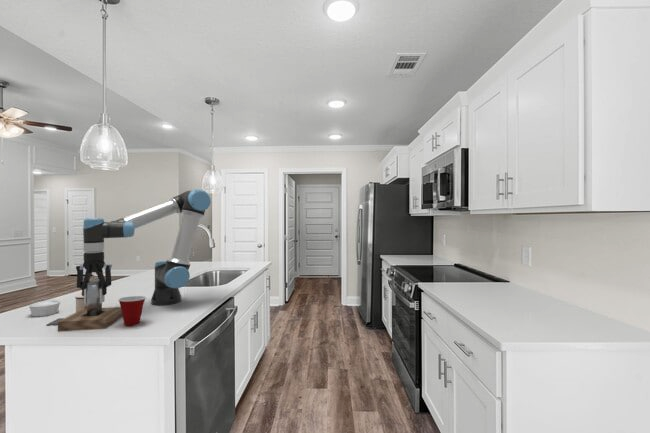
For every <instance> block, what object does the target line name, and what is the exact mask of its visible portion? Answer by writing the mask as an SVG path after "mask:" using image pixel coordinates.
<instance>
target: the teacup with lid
mask: <svg viewBox="0 0 650 433" xmlns="http://www.w3.org/2000/svg"><path fill="white" fill-rule="evenodd" d="M74 298H75V313H76V312H78V311H80V310H81V309H87V303H86V304H84V296H82V292H80V293H79V294H76V295H75V297H74Z"/></svg>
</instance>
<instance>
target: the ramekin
mask: <svg viewBox="0 0 650 433" xmlns="http://www.w3.org/2000/svg"><path fill="white" fill-rule="evenodd" d="M60 305H61V301H60V300H55V299H53V300H44V301H38V302H35V303H32V304H31V303H30V304H29V306H28V308H29V310H30V315H31V317H34V316H35V318H37V317H39V316H41V317H47V315H48V316H52V315H54V314H57V313H58V311H59V308H60ZM51 314H52V315H51ZM39 318H40V317H39Z"/></svg>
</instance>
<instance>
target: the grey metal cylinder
mask: <svg viewBox="0 0 650 433" xmlns="http://www.w3.org/2000/svg"><path fill="white" fill-rule="evenodd" d="M100 288H102V287H101V284H100V281H99V279H93V280H89V281H88V282H87V316H96V315H100V314H102V308H103V302H102V303H100Z"/></svg>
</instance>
